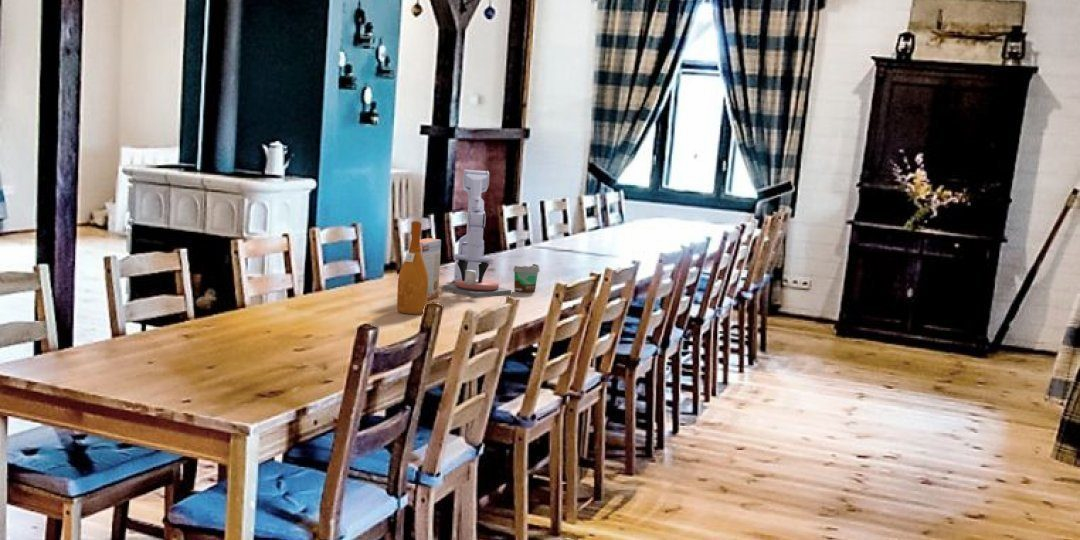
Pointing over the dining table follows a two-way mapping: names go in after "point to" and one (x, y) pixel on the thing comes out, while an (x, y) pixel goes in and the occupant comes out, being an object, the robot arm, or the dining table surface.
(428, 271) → the cracker box
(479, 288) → the handwheel
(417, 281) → the wine bottle
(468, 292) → the base plate
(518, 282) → the food container
